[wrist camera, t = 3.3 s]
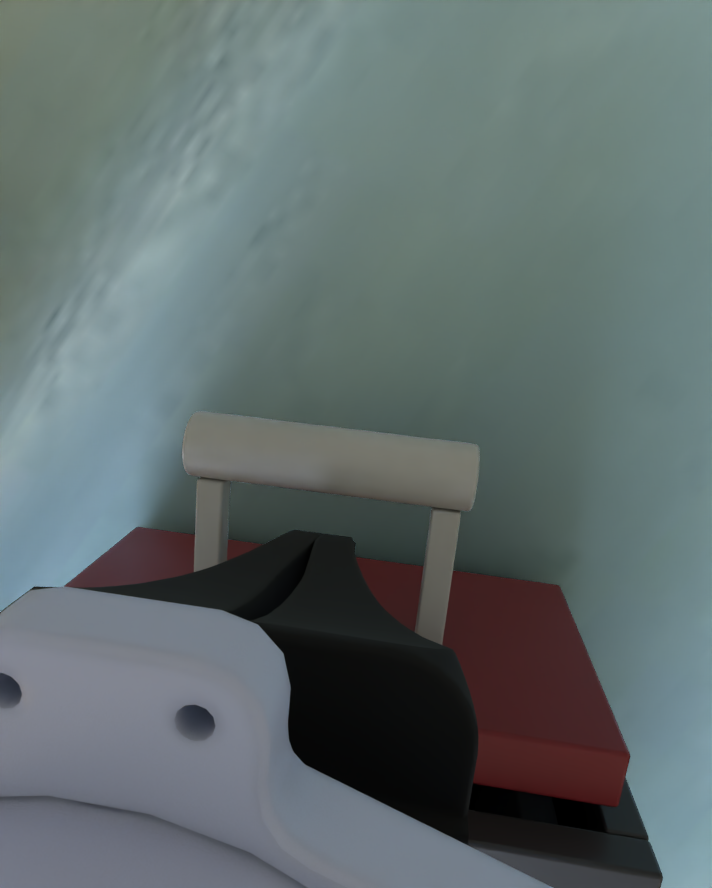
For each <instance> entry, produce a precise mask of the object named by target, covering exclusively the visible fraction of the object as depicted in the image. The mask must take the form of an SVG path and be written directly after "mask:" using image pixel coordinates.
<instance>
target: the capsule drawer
mask: <svg viewBox="0 0 712 888" xmlns="http://www.w3.org/2000/svg"><path fill="white" fill-rule="evenodd" d="M182 460H183V466H184V469H185V471H186V472H187V473H188V474H189V475H191V476H197V477H200V478H199V479H198V480H197V492H196V520H195V535H193V534H186V533H179V532H171V531H164V530H157V529H150V528H143V527H136V528H135V529H134V530H132V531H131V532H130V533H129V534H127V535H126V536H125V537H124V538H123V539H121V540H120V541H119V542H118V543H116V544H115V545H114V546H113V547H112V548H110V549H109V550H108V551H107V552H105V553H104V554H103V555H102V556H101V557H99V558H98V559H97V560H96V561H94V562H93V563H92V564H91V565H89V566H88V567H87V568H86V569H85V570H83V571H82V572H81V573H80V574H78V575H77V576H76V577H75V578H74V579H72V580H71V581H70V582H69V583H67V584H66V585H65V586H64V587H82V588H85V587H107V586H120V585H130V584H138V583H145V582H150V581H156V580H161V579H167V578H172V577H177V576H181V575H185V574H189V573H192V572H196V571H199V570H203V569H206V568H209V567H212V566H215V565H217V564H220V563H223V562H225V561H227V560H230V559H232V558H234V557H237V556H239V555H242V554H244V553H246V552H249V551H251V550H253V549H255V548H257V547H259V546H261V545H263V544H258V543H251V542H244V541H236V540H229V539H228V527H229V506H230V486H231V481H236V482H244V483H251V484H259V485H267V486H274V487H282V488H290V489H297V490H305V491H313V492H321V493H328V494H336V495H344V496H351V497H359V498H367V499H374V500H382V501H390V502H398V503H405V504H413V505H421V506H428V507H431V513H430V521H429V528H428V536H427V544H426V551H425V559H424V566H417V565H410V564H403V563H395V562H388V561H381V560H374V559H367V558H359V557H356V559H357V562H358V565H359V568H360V570H361V573H362V575H363V577H364V579H365V581H366V583H367V585H368V587H369V589H370V590H371V592H372V594H373V595H374V597H375V598H376V600H377V601H378V602H379V603H380V605H381V606H382V607H383V608H384V609H385V610H386V611H387V612H388V613H389V614H391V615H392V616H393V617H394V618H395V619H396V620H398V621H399V622H400V623H401V624H403V625H404V626H406V627H407V628H408V629H410V630H412V631H414V632H415V633H417V634H419V635H420V636H422V637H424V638H426V639H428V640H431V641H433V642H436V643H438V644H441V645H443V646H446V647H448V648H451V649H453V650H454V652H455V653H456V656H457V658H458V660H459V663H460V665H461V668H462V671H463V673H464V676H465V679H466V682H467V685H468V688H469V691H470V694H471V698H472V701H473V705H474V709H475V714H476V718H477V725H478V736H479V739H478V756H477V762H476V767H475V773H474V779H473V785H472V791H471V797H470V803H469V810H475V811H481V812H486V813H492V814H498V815H504V816H510V817H516V818H521V819H527V820H533V821H539V822H545V823H551V824H556V825H558V822H557V817H556V813H555V809H554V804H553V800H552V797H555V798H561V799H567V800H573V801H579V802H585V803H591V804H597V805H603V806H609V807H617V806H618V805H619V801H620V797H621V793H622V788H623V784H624V780H625V776H626V772H627V768H628V763H629V759H630V753H629V751H628V748H627V746H626V743H625V741H624V739H623V736H622V734H621V731H620V729H619V727H618V724H617V722H616V719H615V717H614V715H613V712H612V710H611V707H610V705H609V703H608V700H607V698H606V695H605V693H604V691H603V688H602V686H601V683H600V681H599V679H598V676H597V674H596V671H595V669H594V667H593V664H592V662H591V659H590V657H589V655H588V652H587V650H586V647H585V645H584V643H583V640H582V638H581V635H580V633H579V631H578V628H577V626H576V623H575V621H574V619H573V616H572V614H571V611H570V609H569V607H568V604H567V602H566V599H565V597H564V595H563V592H562V590H561V587H560V586H559V585H554V584H547V583H540V582H533V581H525V580H518V579H511V578H504V577H497V576H489V575H482V574H475V573H468V572H460V571H453V567H454V560H455V553H456V546H457V539H458V532H459V525H460V519H461V512H460V511H470V510H471V509H472V507H473V505H474V501H475V497H476V491H477V485H478V477H479V466H480V450H479V446H478V445H476V444H473V443H465V442H456V441H448V440H440V439H432V438H423V437H415V436H407V435H398V434H390V433H382V432H373V431H365V430H357V429H348V428H340V427H332V426H323V425H315V424H307V423H298V422H290V421H282V420H274V419H265V418H257V417H249V416H240V415H232V414H224V413H215V412H207V411H197V412H195V413H193V414H192V416H191V417H190V419H189V421H188V423H187V426H186V429H185V433H184V437H183V444H182Z"/></svg>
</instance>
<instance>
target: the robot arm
mask: <svg viewBox="0 0 712 888" xmlns="http://www.w3.org/2000/svg"><path fill="white" fill-rule="evenodd" d="M355 546H356V543H355V542H354V541H353V539H352V538H351V537H344V536H337V535H329V534H322V533H315V532H307V531H300V530H293V531H290V532H287V533H285V534H283V535H281V536H279V537H277V538H275V539H273V540H271V541H269V542H267V543H265V544H263V545H261V546H259V547H257V548H255V549H253V550H251V551H249V552H246V553H244V554H242V555H239V556H237V557H234V558H232V559H230V560H227V561H225V562H223V563H220V564H217V565H215V566H212V567H209V568H206V569H203V570H199V571H196V572H192V573H189V574H185V575H181V576H177V577H172V578H167V579H161V580H156V581H150V582H145V583H138V584H130V585H120V586H107V587H85V588H82V587H33V588H32V589H30V590H29V591H28V592H26V593H25V594H24V595H22V596H21V597H20V598H18V599H17V600H16V601H14V602H13V603H12V604H10V605H9V606H8V607H7V608H5V609H4V610H3V611H1V612H0V888H553V887H551V886H549V885H547V884H545V883H543V882H541V881H538V880H536V879H534V878H532V877H530V876H528V875H526V874H524V873H522V872H520V871H518V870H516V869H514V868H512V867H510V866H508V865H506V864H504V863H502V862H500V861H498V860H496V859H494V858H492V857H490V856H488V855H486V854H484V853H482V852H480V851H478V850H476V849H474V848H472V847H470V846H468V839H469V832H468V809H469V803H470V797H471V791H472V785H473V779H474V773H475V767H476V762H477V756H478V739H479V736H478V725H477V718H476V714H475V709H474V705H473V701H472V698H471V694H470V691H469V688H468V685H467V682H466V679H465V676H464V673H463V671H462V668H461V665H460V663H459V660H458V658H457V656H456V653H455V652H454V650H453V649H451V648H448V647H446V646H443V645H441V644H438V643H436V642H433V641H431V640H428V639H426V638H424V637H422V636H420V635H419V634H417V633H415V632H414V631H412V630H410V629H408V628H407V627H406V626H404V625H403V624H401V623H400V622H399V621H398V620H396V619H395V618H394V617H393V616H392V615H391V614H389V613H388V612H387V611H386V610H385V609H384V608H383V607H382V606H381V605H380V603H379V602H378V601H377V600H376V598H375V597H374V595H373V594H372V592H371V590H370V589H369V587H368V585H367V583H366V581H365V579H364V577H363V575H362V573H361V570H360V568H359V565H358V562H357V559H356V555H355Z"/></svg>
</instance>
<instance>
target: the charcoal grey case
mask: <svg viewBox="0 0 712 888" xmlns="http://www.w3.org/2000/svg"><path fill="white" fill-rule="evenodd" d="M552 800H553V804H554V809H555V813H556V817H557V822H558V825H556V824H551V823H545V822H539V821H533V820H527V819H521V818H516V817H510V816H504V815H498V814H492V813H486V812H481V811H475V810H469V809H468V832H469V839H468V846H470V847H472V848H474V849H476V850H478V851H480V852H482V853H484V854H486V855H488V856H490V857H492V858H494V859H496V860H498V861H500V862H502V863H504V864H506V865H508V866H510V867H512V868H514V869H516V870H518V871H520V872H522V873H524V874H526V875H528V876H530V877H532V878H534V879H536V880H538V881H541V882H543V883H545V884H547V885H549V886H551V887H553V888H660V887H661V883H662V879H663V876H662V872H661V870H660V867H659V864H658V862H657V859H656V857H655V854H654V852H653V849H652V846H651V844H650V842H649V841H648V835H647V832H646V829H645V827H644V824H643V822H642V819H641V816H640V814H639V811H638V809H637V806H636V804H635V801H634V798H633V796H632V793H631V791H630V788H629V786H628V783H627V780H626V778H625V780H624V784H623V788H622V793H621V797H620V801H619V805H618V806H617V807H609V806H603V805H597V804H591V803H585V802H579V801H573V800H567V799H561V798H555V797H552Z"/></svg>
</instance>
